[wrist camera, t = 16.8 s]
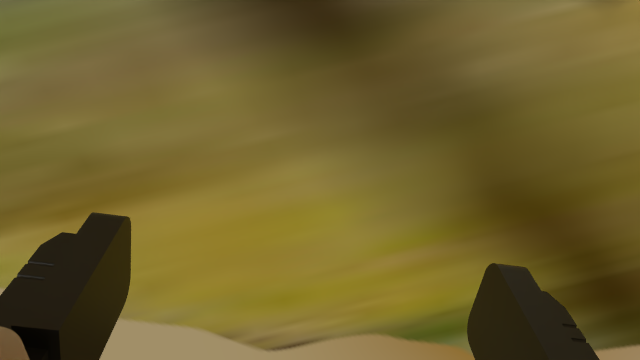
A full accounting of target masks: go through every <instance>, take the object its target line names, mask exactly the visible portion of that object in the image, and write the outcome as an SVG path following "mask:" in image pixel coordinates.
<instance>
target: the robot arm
mask: <svg viewBox="0 0 640 360" xmlns="http://www.w3.org/2000/svg"><path fill="white" fill-rule="evenodd" d="M130 273H131V221H130V218H129V217H126V216H118V215H110V214H102V213H91V214H90V216H89V217H88V218H87V220H86V221H85V223H84V224H83V225H82V227H81V228H80V230H79V231H78V232H77V234H72V233H64V232H62V233H60V234H59V235H57V236H55V237H53V238H52V239H50V240H48V241H47V242H45V243H43V244H41V245H40V247H39V248H38V249H37V250H36V252H35V253H34V254H33V255H32V257H31V258H30V259H29V260H28V264H25V265H24V267H23V268H22V269H21V270H20V272H19V273H18V276H17V278H14V279H13V280H12V282H11V283H10V284H9V285H8V287H7V288H6V289H5V290H4V292H3V293H2V294H1V295H0V360H99V358H100V356H101V354H102V352H103V350H104V348H105V345H106V343H107V341H108V339H109V337H110V335H111V332H112V330H113V328H114V326H115V324H116V322H117V320H118V318H119V315H120V313H121V311H122V309H123V307H124V304H125V302H126V298H127V295H128V290H129V285H130ZM576 326H577V325H576V323H575V322H574V320H573V319H572V317H571V316H570V314H569V313H568V311H567V310H566V308H565V307H564V306H562V305H561V304H560V303H559V302H558V301H557V300H555V299H554V298H553V297H552V296H551V295H550V294H548V293H547V292H544V291H541V290H540V288H539V287H538V285H537V283H536V282H535V280H534V279H533V277H532V275H531V274H530V272H529V271H528V269H526V268H525V267H519V266H511V265H503V264H495V263H492V264H490V265H489V266H488V267H487V269H486V271H485V274H484V276H483V279H482V282H481V285H480V287H479V290H478V293H477V296H476V299H475V301H474V304H473V307H472V310H471V312H470V315H469V319H468V327H467V334H468V341H469V345H470V347H471V350H472V353H473V355H474V358H475V360H599V358H598V357H597V355H596V354H595V352H594V351H593V349H592V348H591V346H590V345H589V343H586V339H585V337H584V336H583V334H582V333H581V331H580V330H579V329H578V328H576Z"/></svg>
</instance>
